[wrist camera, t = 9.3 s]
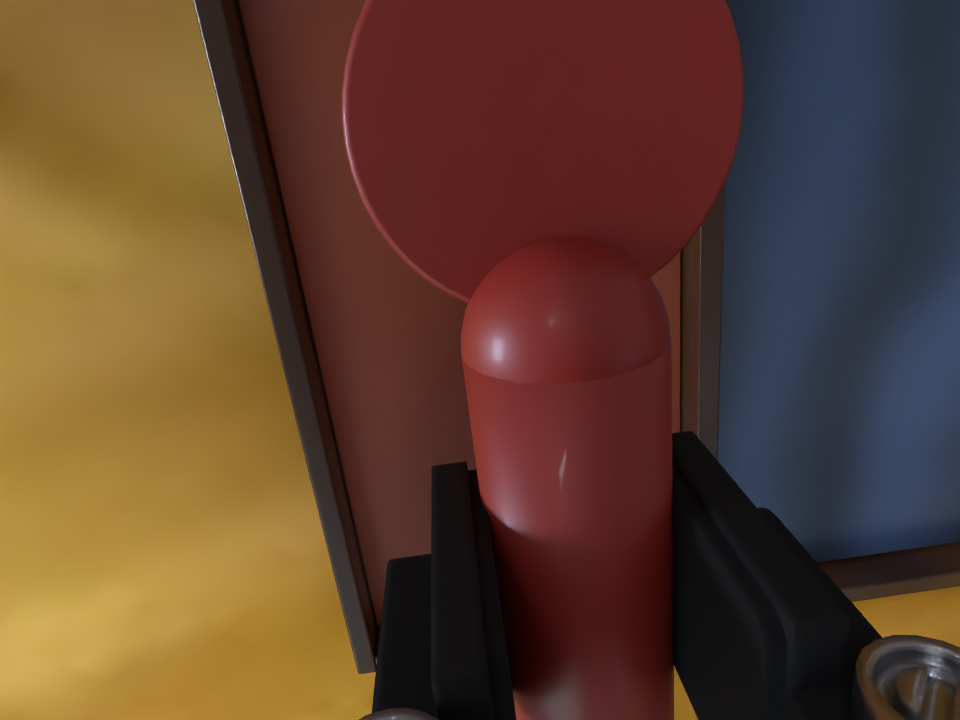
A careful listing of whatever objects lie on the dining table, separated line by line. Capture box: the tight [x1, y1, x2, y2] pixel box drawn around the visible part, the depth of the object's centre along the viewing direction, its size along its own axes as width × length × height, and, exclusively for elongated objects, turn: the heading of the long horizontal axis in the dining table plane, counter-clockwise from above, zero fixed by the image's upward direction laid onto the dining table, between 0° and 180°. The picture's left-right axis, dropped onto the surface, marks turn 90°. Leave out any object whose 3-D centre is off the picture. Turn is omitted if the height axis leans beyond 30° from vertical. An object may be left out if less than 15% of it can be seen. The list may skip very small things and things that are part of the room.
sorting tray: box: [193, 0, 960, 674], centre depth 17 cm, size 22×20×2 cm
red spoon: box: [342, 0, 744, 720], centre depth 9 cm, size 16×4×2 cm, turn 6°
